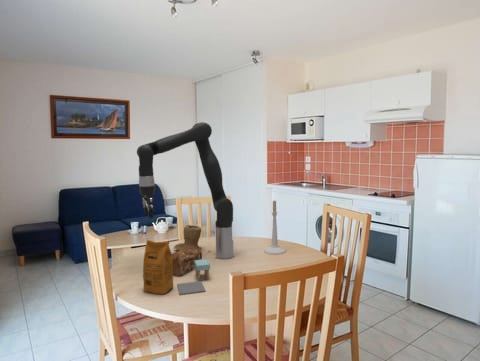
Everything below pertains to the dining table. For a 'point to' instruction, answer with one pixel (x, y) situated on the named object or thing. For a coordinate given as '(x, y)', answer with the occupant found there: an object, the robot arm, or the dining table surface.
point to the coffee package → (157, 267)
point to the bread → (185, 260)
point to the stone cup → (190, 238)
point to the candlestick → (274, 236)
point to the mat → (190, 288)
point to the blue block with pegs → (202, 267)
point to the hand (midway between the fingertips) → (149, 216)
